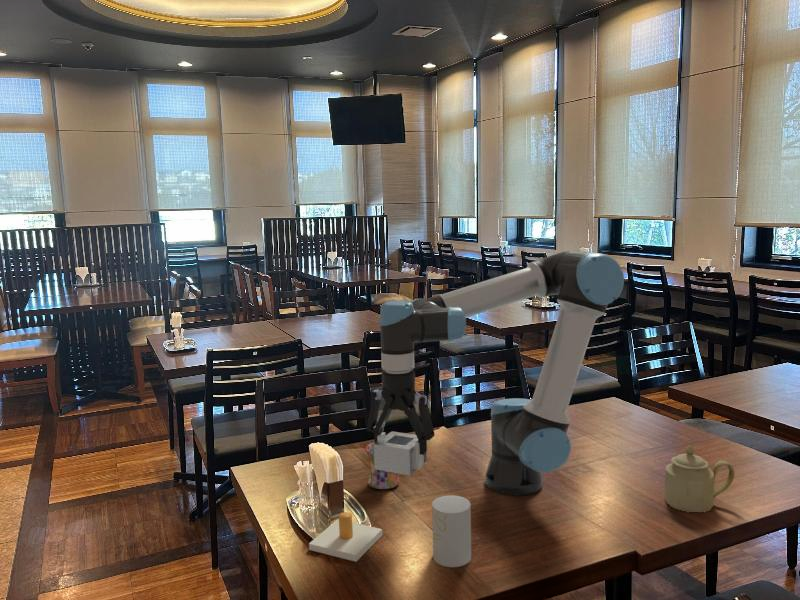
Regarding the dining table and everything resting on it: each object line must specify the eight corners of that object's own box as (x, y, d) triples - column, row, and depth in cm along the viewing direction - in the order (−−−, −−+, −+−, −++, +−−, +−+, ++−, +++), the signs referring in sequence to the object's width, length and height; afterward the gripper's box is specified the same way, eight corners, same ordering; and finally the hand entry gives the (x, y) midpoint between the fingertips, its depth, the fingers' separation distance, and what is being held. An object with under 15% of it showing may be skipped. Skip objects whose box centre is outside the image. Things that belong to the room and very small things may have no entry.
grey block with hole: (426, 460, 150) (425, 436, 149) (410, 475, 142) (409, 449, 141) (392, 455, 154) (391, 431, 153) (374, 469, 146) (373, 444, 145)
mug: (404, 489, 169) (403, 451, 168) (370, 494, 167) (369, 456, 166) (393, 471, 181) (392, 436, 179) (361, 476, 179) (360, 440, 177)
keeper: (382, 535, 146) (381, 508, 145) (356, 561, 135) (355, 533, 134) (337, 525, 151) (336, 499, 150) (309, 549, 141) (307, 522, 140)
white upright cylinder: (430, 547, 140) (429, 496, 138) (467, 545, 141) (466, 494, 139) (436, 568, 132) (434, 514, 130) (474, 565, 133) (473, 511, 131)
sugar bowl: (699, 487, 166) (701, 432, 163) (735, 505, 155) (738, 446, 153) (654, 498, 160) (656, 441, 158) (688, 517, 150) (690, 456, 148)
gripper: (448, 369, 143) (450, 465, 146) (364, 361, 152) (367, 451, 156) (435, 378, 136) (437, 477, 139) (348, 369, 146) (352, 462, 149)
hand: (400, 463), depth 148 cm, fingers closed on grey block with hole, 9 cm apart
